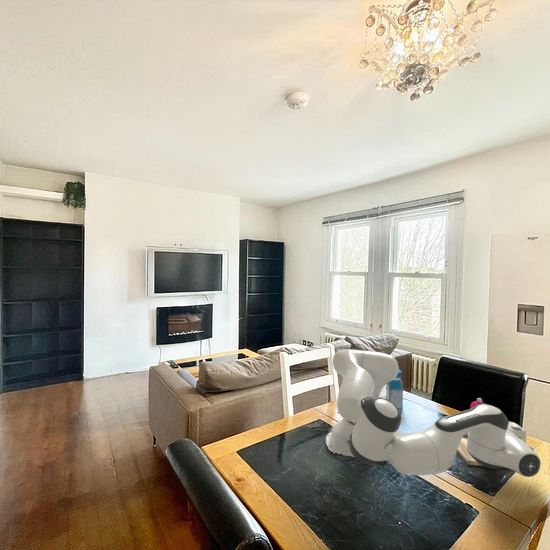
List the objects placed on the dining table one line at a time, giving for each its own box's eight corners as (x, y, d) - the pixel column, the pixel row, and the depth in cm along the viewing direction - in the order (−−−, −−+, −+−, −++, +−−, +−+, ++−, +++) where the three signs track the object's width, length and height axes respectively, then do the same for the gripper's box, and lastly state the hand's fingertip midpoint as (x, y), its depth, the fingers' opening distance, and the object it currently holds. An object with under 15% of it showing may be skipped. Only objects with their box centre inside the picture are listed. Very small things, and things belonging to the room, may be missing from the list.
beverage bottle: (395, 413, 152) (395, 374, 151) (382, 407, 159) (382, 369, 159) (406, 410, 156) (406, 371, 155) (393, 403, 163) (393, 366, 163)
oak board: (467, 464, 112) (467, 460, 112) (448, 440, 128) (448, 437, 128) (514, 468, 110) (514, 464, 110) (489, 443, 125) (489, 439, 125)
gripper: (466, 444, 107) (449, 424, 121) (530, 448, 104) (505, 428, 118) (467, 426, 107) (450, 408, 121) (530, 430, 104) (506, 412, 118)
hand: (478, 418), depth 119 cm, fingers open, 6 cm apart
